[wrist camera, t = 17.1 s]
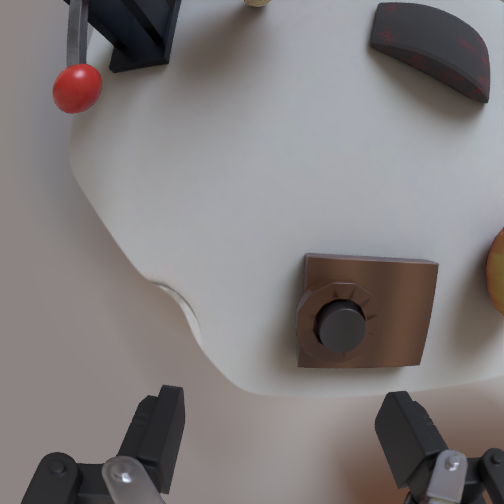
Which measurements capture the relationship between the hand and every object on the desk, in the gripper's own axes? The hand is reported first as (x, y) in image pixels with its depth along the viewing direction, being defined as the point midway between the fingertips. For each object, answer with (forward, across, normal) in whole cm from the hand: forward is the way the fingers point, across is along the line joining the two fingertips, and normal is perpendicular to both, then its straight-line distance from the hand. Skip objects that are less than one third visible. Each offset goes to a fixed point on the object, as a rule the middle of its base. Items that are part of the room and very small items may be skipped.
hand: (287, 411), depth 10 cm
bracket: (+19, +14, -23) cm, 33 cm away
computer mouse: (+17, -15, -23) cm, 32 cm away
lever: (+10, +14, -19) cm, 26 cm away
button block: (+14, -8, +2) cm, 16 cm away
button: (+10, -5, +1) cm, 11 cm away
